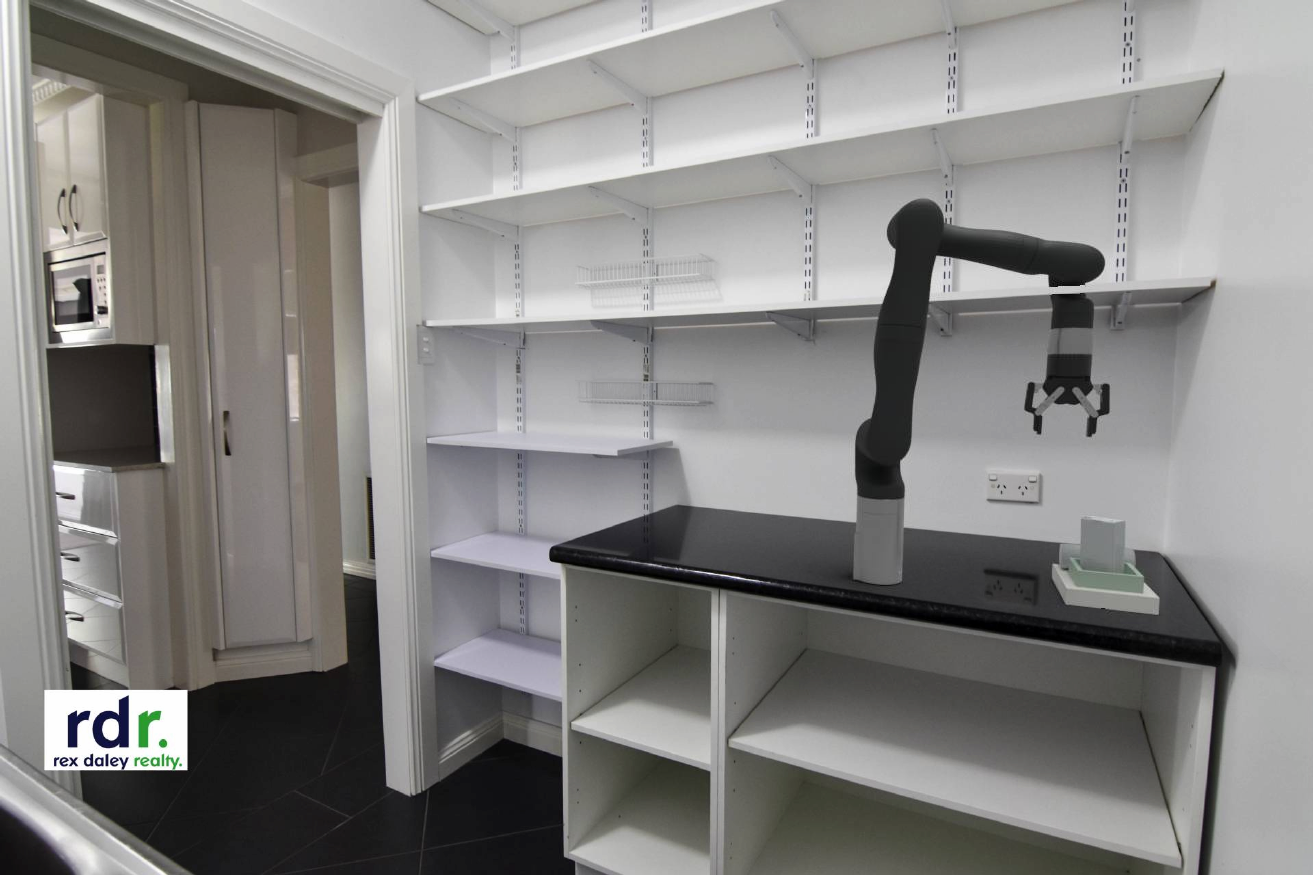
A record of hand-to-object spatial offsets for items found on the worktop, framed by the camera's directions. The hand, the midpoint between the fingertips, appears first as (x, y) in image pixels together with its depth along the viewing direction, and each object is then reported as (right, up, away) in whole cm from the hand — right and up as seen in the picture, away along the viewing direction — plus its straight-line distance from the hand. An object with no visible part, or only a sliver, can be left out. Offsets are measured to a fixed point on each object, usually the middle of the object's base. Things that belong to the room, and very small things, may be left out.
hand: (1063, 435), depth 134 cm
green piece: (+4, -28, -6) cm, 29 cm away
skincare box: (+3, -28, -6) cm, 29 cm away
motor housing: (+4, -30, -4) cm, 31 cm away
